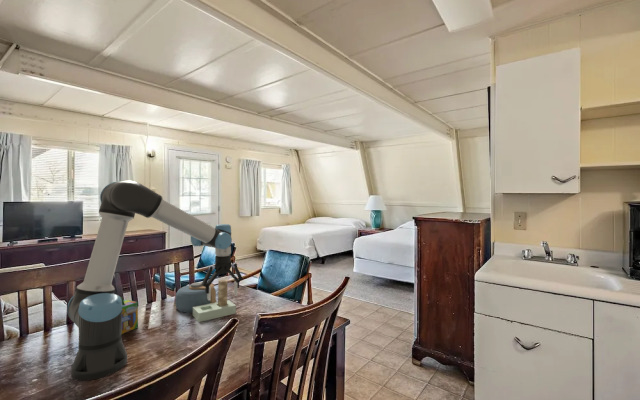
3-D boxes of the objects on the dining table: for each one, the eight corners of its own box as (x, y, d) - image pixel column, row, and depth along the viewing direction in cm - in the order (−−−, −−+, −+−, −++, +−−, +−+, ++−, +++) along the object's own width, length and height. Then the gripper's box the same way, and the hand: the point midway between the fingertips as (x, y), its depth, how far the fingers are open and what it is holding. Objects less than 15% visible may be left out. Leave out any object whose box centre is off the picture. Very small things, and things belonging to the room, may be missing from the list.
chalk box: (138, 328, 131) (138, 294, 131) (116, 336, 122) (116, 300, 122) (126, 324, 135) (126, 291, 135) (103, 332, 127) (104, 297, 127)
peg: (220, 314, 147) (220, 282, 147) (217, 312, 150) (218, 280, 150) (226, 312, 149) (227, 280, 149) (224, 310, 152) (225, 279, 152)
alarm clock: (220, 308, 156) (220, 285, 156) (178, 316, 144) (179, 291, 144) (211, 298, 172) (211, 277, 172) (172, 304, 160) (173, 282, 160)
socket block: (198, 322, 138) (198, 313, 138) (192, 315, 146) (192, 307, 146) (235, 313, 149) (236, 305, 149) (228, 307, 157) (228, 299, 157)
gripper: (199, 259, 139) (199, 304, 139) (249, 253, 154) (248, 294, 154) (195, 256, 145) (194, 300, 145) (243, 251, 160) (243, 290, 160)
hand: (222, 297), depth 150 cm, fingers open, 13 cm apart
